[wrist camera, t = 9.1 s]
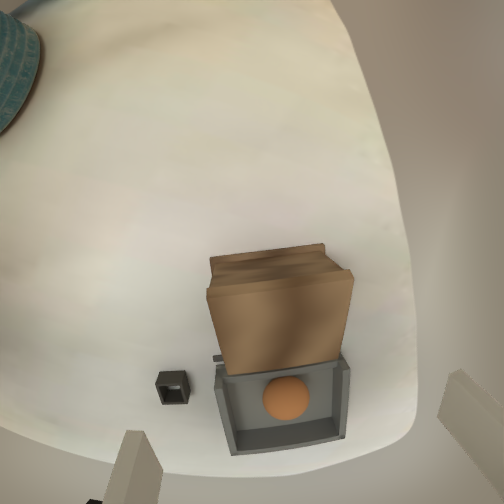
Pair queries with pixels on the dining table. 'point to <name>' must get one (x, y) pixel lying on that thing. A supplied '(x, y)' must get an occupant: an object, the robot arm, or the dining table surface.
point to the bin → (283, 431)
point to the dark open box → (173, 380)
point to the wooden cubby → (278, 307)
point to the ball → (286, 398)
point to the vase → (16, 65)
